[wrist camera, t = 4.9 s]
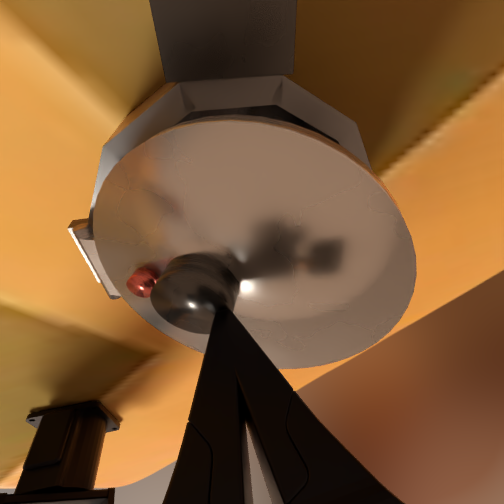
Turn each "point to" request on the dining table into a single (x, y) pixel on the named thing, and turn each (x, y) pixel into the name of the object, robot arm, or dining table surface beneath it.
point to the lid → (253, 239)
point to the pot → (224, 77)
